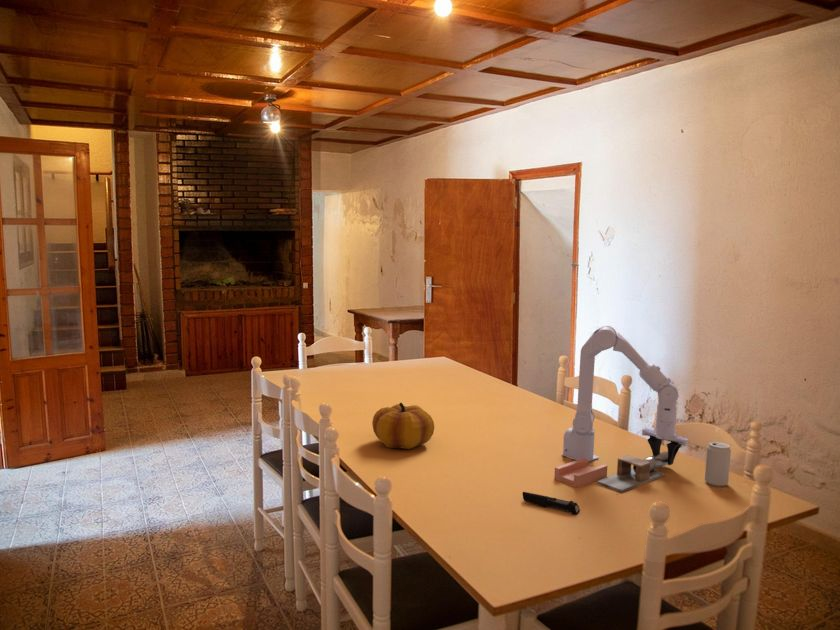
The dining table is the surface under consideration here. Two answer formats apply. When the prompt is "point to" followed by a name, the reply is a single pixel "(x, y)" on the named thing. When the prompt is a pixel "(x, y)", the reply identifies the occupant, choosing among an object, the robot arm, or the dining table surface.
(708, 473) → the beverage can
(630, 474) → the arched stand
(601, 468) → the cradle
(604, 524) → the dining table surface
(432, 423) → the decorative pumpkin
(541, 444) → the dining table surface
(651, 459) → the axle
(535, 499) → the electric trimmer
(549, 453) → the dining table surface
